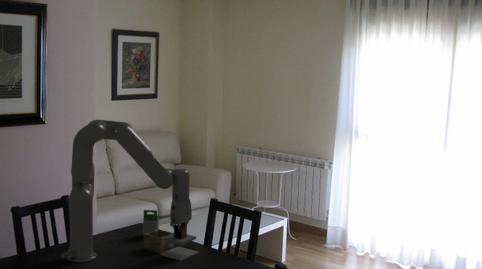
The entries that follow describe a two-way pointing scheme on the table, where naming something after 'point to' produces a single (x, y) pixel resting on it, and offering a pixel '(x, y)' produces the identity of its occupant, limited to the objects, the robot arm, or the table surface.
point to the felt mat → (179, 253)
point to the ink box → (150, 221)
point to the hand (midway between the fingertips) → (180, 236)
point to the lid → (184, 237)
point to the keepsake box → (157, 241)
